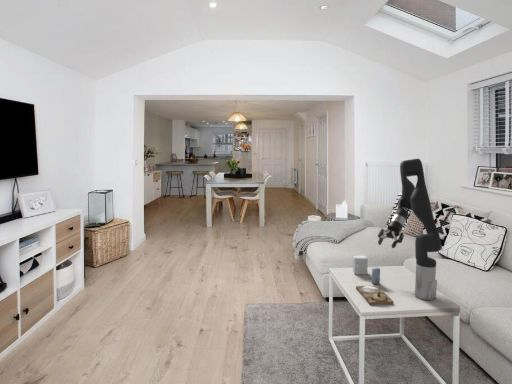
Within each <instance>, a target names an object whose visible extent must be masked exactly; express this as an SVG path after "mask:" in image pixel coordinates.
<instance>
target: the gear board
mask: <svg viewBox="0 0 512 384" xmlns="http://www.w3.org/2000/svg"><path fill="white" fill-rule="evenodd" d="M355 289H356V290H357V291H358V293H359V294H360V295H361V297H363V299H364V300H365V301H366V302H367V303H368V305H370V306H373V305H374V306H375V305H376V306H377V305H383V306H384V305H394V300H393V299H392V298H391V297H390V296H389V295H387V293H386V292H385V291H383V289H381V287H380V286H379V285H356V286H355Z"/></svg>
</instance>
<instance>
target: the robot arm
mask: <svg viewBox="0 0 512 384" xmlns="http://www.w3.org/2000/svg"><path fill="white" fill-rule="evenodd" d="M423 166H424V165H423V163H422V160H421V159H420V158H413V159H406V160H402V161H401V162H400V163H399V171H400V181H401V197H399V199H398V204H397V208H396V209H397V210H396V211H395V212H394V215H393V217H392V218H391V220H390V222H389V223H388V226H387V229H384V228H381V229H380V231H379V233H378V234H377V237H378V241H377V243H378V245H379V246H381V245H382V243H383V241H384V240H385V239H386V240H387V238H388V239H392V240H393V239H394V241H393V242H392V244H391V248H392V249H394V248H396V247H397V244H402V242H403V239H404V237H405V234H404V233H403V232H401V231H402V230H403V228H404V226H405V223H406V221H407V218H408V217H409V215H410V214H409V211H408V210H410V211H412V212H413V215H415V216H416V218H417V219H418V220H419V221H420V222H421V223H422V225H423V226H424V228H425V231H426V233H424V234H423V233H422V234H417V236H416V238H415V242H414V244H415V246H414V247H415V249H414V250H415V254H414V255H415V261H416V262H415V263H416V264H415V282H414V296H415V297H416V298H418V299H421V300H424V301H425V300H426V301H430V302H432V301H433V300H435V299H436V298H437V289H438V288H437V287H438V280H437V278H436V273H437V261H436V259H434V258H432V257H429V256H428V254H429V253H436V252H440V251H441V249H442V239H441V236H440V234H439V230H438V228H437V224H436V223H435V222H436V221H435V218H434V214H433V210H432V205H431V201H430V200H431V199H430V197H429V196H430V195H429V192H428V190H427V185H426V178H425V174H424V173H425V172H424V167H423ZM415 176H416V177H417V178H416V179H417V180H416V185H414V183H413V182H412V181H411V180H409V178H408V177H415Z"/></svg>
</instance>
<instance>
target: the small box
mask: <svg viewBox="0 0 512 384" xmlns="http://www.w3.org/2000/svg"><path fill="white" fill-rule="evenodd" d="M368 259H369V258H368V256H367V255H353V256H352V272H353V273H354V275H368V262H369V261H368Z"/></svg>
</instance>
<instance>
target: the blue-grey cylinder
mask: <svg viewBox="0 0 512 384" xmlns="http://www.w3.org/2000/svg"><path fill="white" fill-rule="evenodd" d="M380 280H381V268H380V267H377V266H373V267H372V268H371V284H372V286H379V285H380V284H381V283H380Z"/></svg>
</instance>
